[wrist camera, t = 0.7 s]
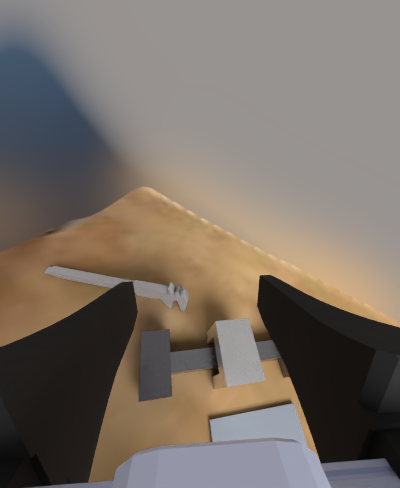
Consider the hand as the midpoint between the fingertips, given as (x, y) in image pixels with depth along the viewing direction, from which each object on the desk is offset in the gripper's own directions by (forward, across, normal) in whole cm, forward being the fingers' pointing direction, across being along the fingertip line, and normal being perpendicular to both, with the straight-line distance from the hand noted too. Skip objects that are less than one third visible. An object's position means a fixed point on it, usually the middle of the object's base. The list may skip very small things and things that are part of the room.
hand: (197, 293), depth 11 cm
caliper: (+15, +11, +9) cm, 21 cm away
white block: (+9, -3, +15) cm, 18 cm away
